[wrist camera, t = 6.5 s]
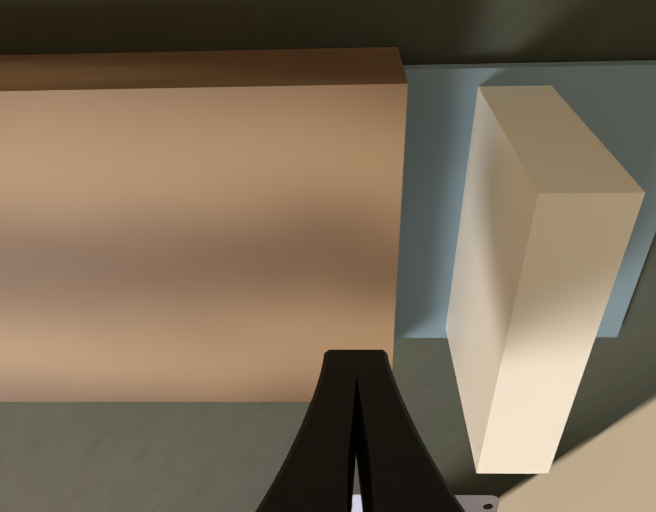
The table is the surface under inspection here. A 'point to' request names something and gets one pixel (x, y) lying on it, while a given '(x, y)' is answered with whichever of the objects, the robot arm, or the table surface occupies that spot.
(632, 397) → the table surface
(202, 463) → the table surface
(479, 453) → the cream rectangular block
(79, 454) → the table surface
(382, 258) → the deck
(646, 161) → the mat
